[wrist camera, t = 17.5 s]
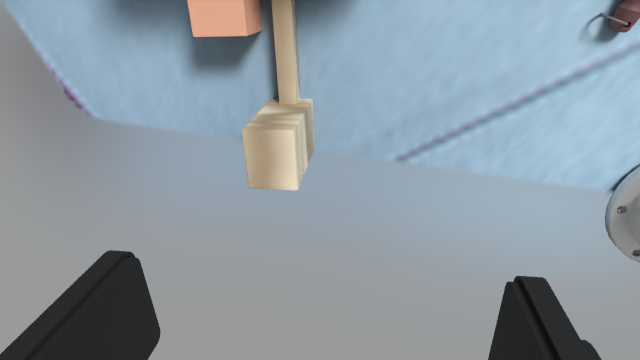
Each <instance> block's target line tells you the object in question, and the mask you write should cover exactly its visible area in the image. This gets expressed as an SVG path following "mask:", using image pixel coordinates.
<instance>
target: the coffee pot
mask: <svg viewBox="0 0 640 360" xmlns="http://www.w3.org/2000/svg"><path fill="white" fill-rule="evenodd" d="M600 15H601V16H603V17H605V18H607V19H610V20H611V21H610V23H609V28H611V29H612V30H615V31H618V32H628V31H629V30H630V29H631V28H632V26H633V25H634V24H635V23H636V22H637V21H638V20H639V18H640V0H626V1H624V2H623V3H621V4H620V5H618V7H617V9H616V11H615V13H614V15H613V17H611V16H608V15H606V14H604V13H600Z"/></svg>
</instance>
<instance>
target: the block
mask: <svg viewBox="0 0 640 360" xmlns="http://www.w3.org/2000/svg"><path fill="white" fill-rule="evenodd" d="M187 2H188V8H189V14H190V20H191V26H192V32H193V37H219V36H248V35H251V34H254V33H256V32H259V31H262V22H261V11H260V0H187Z"/></svg>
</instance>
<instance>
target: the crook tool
mask: <svg viewBox="0 0 640 360" xmlns="http://www.w3.org/2000/svg"><path fill="white" fill-rule="evenodd" d="M272 13H273V26H274V40H275V53H276V66H277V79H278V93H279V99H271V100H270V101H269V102H268V103H267V104H266V105H265V106H264V107H263V108H262V109H261V110H260V111H259V112H258V113H257V114H256V115H255V116H254V117H253V118H252V120H251V121H250V122H249V123H248V124H247V125H246V126H245V127H244V128H243V129H242V134H243V142H244V149H245V158H246V166H247V175H248V182H249V188H255V189H281V190H298V188H299V186H300V183H301V181H302V178H303V175H304V173H305V171H306V168H307V166H308V163H309V161H310V158H311V155H312V153H313V151H314V124H313V99H300V87H299V67H298V47H297V28H296V8H295V0H272Z"/></svg>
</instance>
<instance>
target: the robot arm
mask: <svg viewBox="0 0 640 360" xmlns="http://www.w3.org/2000/svg"><path fill="white" fill-rule="evenodd" d="M605 225H606V230H607V232H608V235H609V237H610V239H611V240H612V241H613V243H614V244H615V245H616V246H617V247H618V248H619V249H620V250H621V251H622V252H623V253H624V254H625V255H626V256H628V257H629V258H631V259H633V260H636V261H638V262H640V166H639V167H638V168H636V169H635V170H634V171H633V172H631V173H630V174H629V175H628V176H627V177H626V178H625V179H624V180H623V181H622V182H621V183H620V184H619V185H618V187H617V188H616V190H615V191H614V193H613V194H612V196H611V198H610V200H609V203H608V205H607V208H606V215H605ZM159 338H160V327H159V324H158V320H157V317H156V314H155V310H154V307H153V304H152V300H151V297H150V294H149V290H148V287H147V283H146V280H145V277H144V273H143V270H142V267H141V263H140V261H139V259H138V258H135V256H134V254H133V253H132V252H126V251H107V252H106V253H104V254H103V255H102V256H101V257H100V258H99V259H98V260H97V261H96V262H95V263H94V264H93V265H92V266H91V267H90V268H89V269H88V270H87V271H86V272H85V273H84V274H83V275H82V276H81V277H79V278H78V279H77V280H76V281H75V282H74V283H73V284H72V285H71V286H70V287H69V288H68V289H67V290H66V291H65V292H64V293H63V294H62V295H61V296H60V297H59V298H58V299H57V300H56V301H55V302H54V303H53V304H52V305H51V306H50V307H49V308H47V309H46V310H45V311H44V312H43V313H42V315H40V316H39V317H38V318H37V319H36V320H35V321H34V322H33V323H32V324H31V325H30V326H29V327H28V328H27V329H26V330H25V331H24V332H23V333H22V334H21V335H20V336H19V337H18V338H17V339H16V340H14V341H13V342H12V343H11V345H9V346H8V347H7V348H6V349H5V350H4V351H3V352H2V353H1V354H0V360H148V358H149V356H150V355H151V353H152V351H153V350H154V348H155V347H156V345H157V343H158V341H159ZM488 360H601V358H600V357H599V355H598V353H597V352H596V350H595V349H594V347H593V346H592V345H591V344H590V343H589V342H587V341H586V340H580V338H579V336H578V334H577V333H576V331H575V329H574V328H573V326H572V324H571V322H570V321H569V319H568V317H567V315H566V313H565V312H564V310H563V309H562V306H561V305H560V303H559V301H558V299H557V298H556V296H555V294H554V292H553V291H552V289H551V287H550V286H549V284H548V282H547V281H546V279H544V278H542V277H527V276H517V277H516V278H515V279H514V282H507V284H506V286H505V290H504V294H503V299H502V303H501V307H500V312H499V315H498V320H497V324H496V329H495V333H494V337H493V341H492V345H491V350H490V354H489V358H488Z"/></svg>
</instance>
